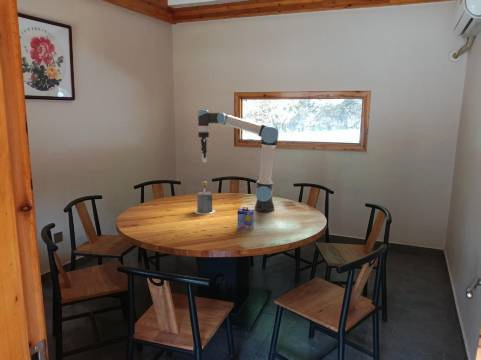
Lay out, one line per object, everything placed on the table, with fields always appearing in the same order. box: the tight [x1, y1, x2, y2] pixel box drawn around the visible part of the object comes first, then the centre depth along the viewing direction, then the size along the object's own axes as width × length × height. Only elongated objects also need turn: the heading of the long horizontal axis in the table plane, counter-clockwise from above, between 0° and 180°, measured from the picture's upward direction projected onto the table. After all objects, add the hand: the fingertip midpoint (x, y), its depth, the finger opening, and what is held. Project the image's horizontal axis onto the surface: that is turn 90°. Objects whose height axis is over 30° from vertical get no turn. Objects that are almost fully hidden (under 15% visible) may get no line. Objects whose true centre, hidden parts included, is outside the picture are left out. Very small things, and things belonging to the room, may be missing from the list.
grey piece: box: [196, 191, 213, 213], centre depth 276 cm, size 11×14×14 cm
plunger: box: [201, 180, 208, 193], centre depth 274 cm, size 8×8×19 cm
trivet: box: [193, 208, 216, 215], centre depth 276 cm, size 16×16×1 cm
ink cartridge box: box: [237, 206, 255, 231], centre depth 237 cm, size 10×6×14 cm, turn 78°
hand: (204, 161), depth 269 cm, fingers open, 13 cm apart
